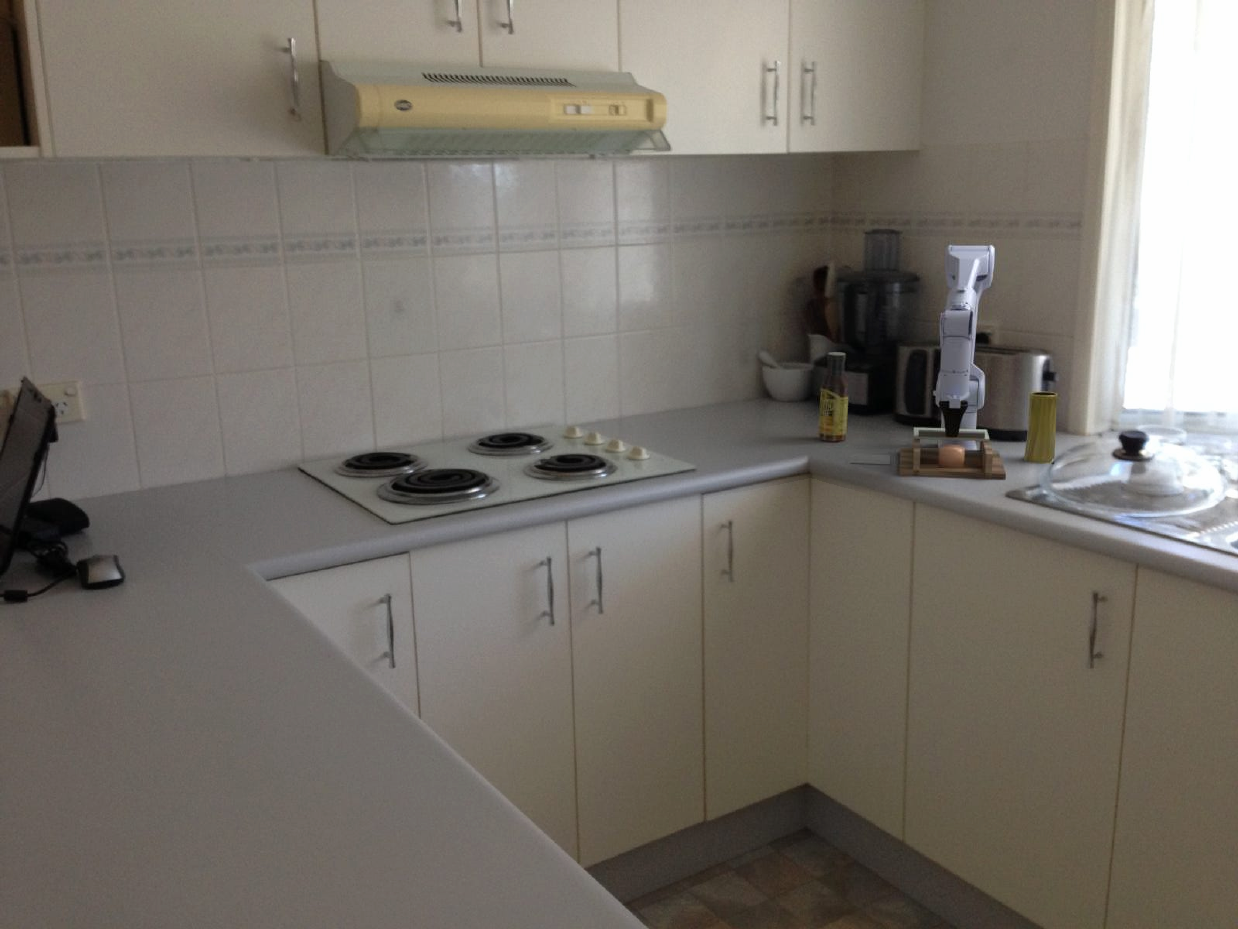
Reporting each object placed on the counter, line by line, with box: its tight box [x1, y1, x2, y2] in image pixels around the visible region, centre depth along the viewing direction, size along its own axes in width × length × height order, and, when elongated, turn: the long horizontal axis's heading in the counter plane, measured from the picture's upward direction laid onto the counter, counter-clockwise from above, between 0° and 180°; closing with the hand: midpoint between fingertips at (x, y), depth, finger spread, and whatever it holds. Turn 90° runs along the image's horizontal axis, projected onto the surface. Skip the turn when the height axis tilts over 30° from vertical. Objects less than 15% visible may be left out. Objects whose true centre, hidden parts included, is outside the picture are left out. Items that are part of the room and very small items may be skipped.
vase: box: [1023, 390, 1058, 464], centre depth 236 cm, size 6×6×14 cm
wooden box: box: [898, 435, 1007, 480], centre depth 234 cm, size 20×20×5 cm
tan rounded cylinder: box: [938, 445, 965, 469], centre depth 231 cm, size 5×5×4 cm
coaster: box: [849, 453, 891, 466], centre depth 240 cm, size 8×8×1 cm
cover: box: [913, 427, 990, 442], centre depth 239 cm, size 9×15×2 cm, turn 76°
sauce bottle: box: [818, 351, 850, 443], centre depth 259 cm, size 7×6×20 cm
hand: (951, 436), depth 234 cm, fingers closed
